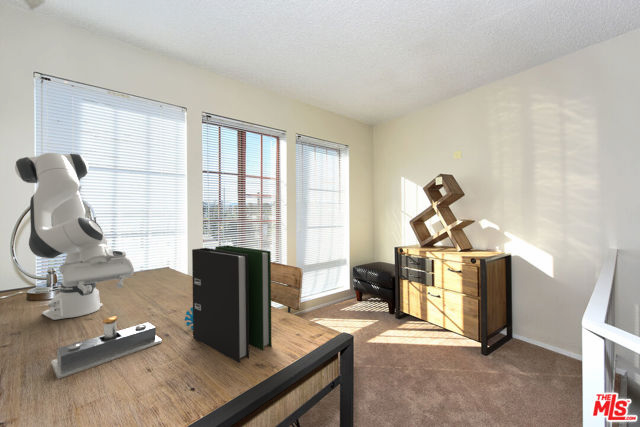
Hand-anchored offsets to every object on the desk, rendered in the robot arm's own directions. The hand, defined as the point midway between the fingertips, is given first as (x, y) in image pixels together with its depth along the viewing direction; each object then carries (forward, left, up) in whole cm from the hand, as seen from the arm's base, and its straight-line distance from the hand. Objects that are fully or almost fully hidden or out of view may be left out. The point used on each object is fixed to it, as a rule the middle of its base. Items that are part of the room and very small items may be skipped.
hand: (104, 289), depth 95 cm
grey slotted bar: (+11, -5, -18) cm, 22 cm away
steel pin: (+11, -5, -17) cm, 21 cm away
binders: (+44, +13, -18) cm, 49 cm away
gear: (+24, +20, -18) cm, 36 cm away
